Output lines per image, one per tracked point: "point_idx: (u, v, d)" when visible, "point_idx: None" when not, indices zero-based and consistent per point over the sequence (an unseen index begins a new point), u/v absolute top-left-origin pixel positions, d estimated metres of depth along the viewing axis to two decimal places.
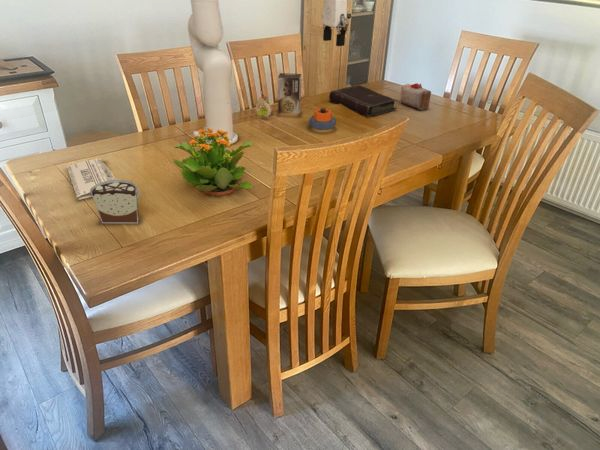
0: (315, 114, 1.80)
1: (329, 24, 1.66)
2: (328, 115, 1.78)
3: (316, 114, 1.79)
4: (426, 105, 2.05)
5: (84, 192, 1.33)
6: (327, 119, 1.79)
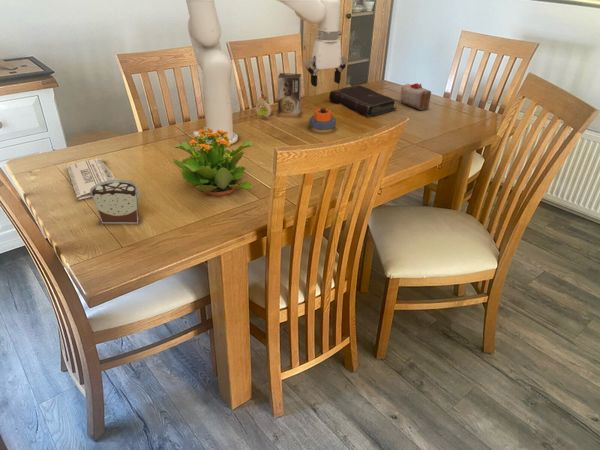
0: (315, 114, 1.80)
1: None
2: (328, 115, 1.78)
3: (316, 114, 1.79)
4: (426, 105, 2.05)
5: (84, 192, 1.33)
6: (327, 119, 1.79)
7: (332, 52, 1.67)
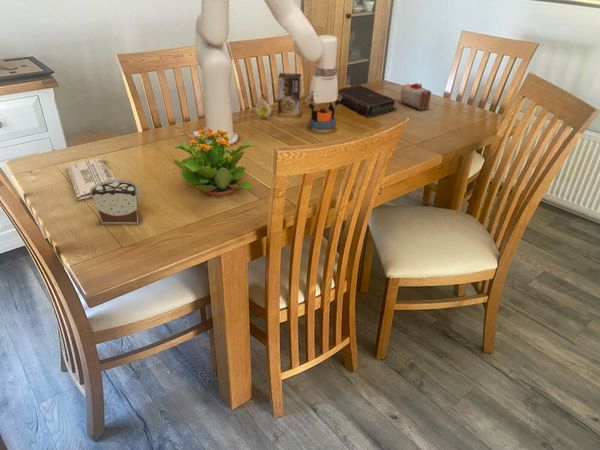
0: None
1: None
2: (328, 115, 1.78)
3: None
4: (426, 105, 2.05)
5: (84, 192, 1.33)
6: (327, 119, 1.79)
7: (329, 87, 1.73)
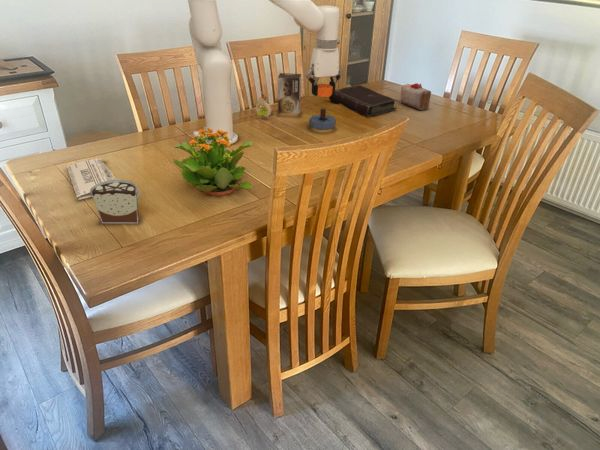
0: None
1: None
2: (329, 90, 1.73)
3: None
4: (426, 105, 2.05)
5: (84, 192, 1.33)
6: (328, 94, 1.74)
7: (330, 60, 1.68)
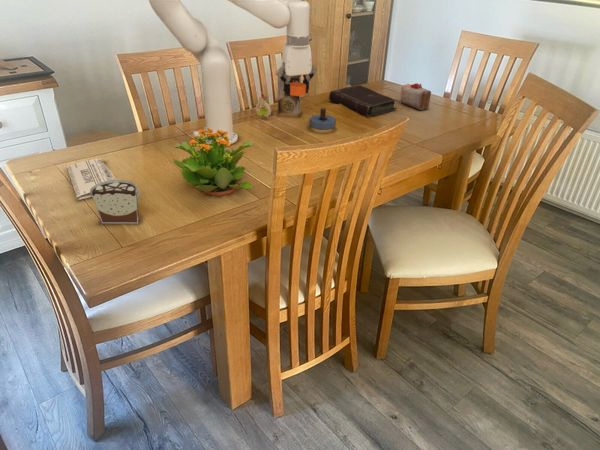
0: None
1: None
2: (302, 89, 1.66)
3: None
4: (426, 105, 2.05)
5: (84, 192, 1.33)
6: (301, 93, 1.66)
7: (302, 57, 1.61)
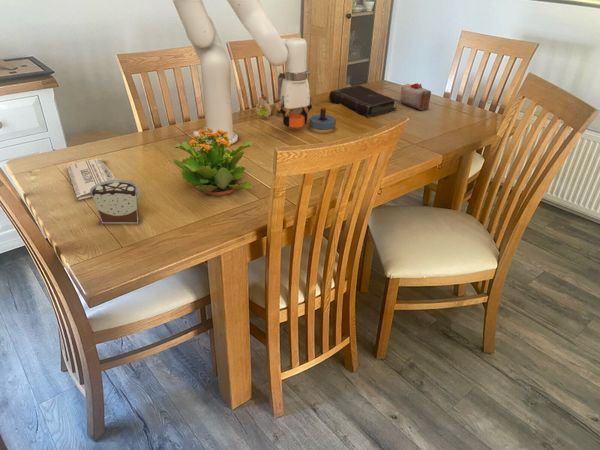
0: None
1: None
2: (300, 120, 1.72)
3: None
4: (426, 105, 2.05)
5: (84, 192, 1.33)
6: (299, 124, 1.72)
7: (300, 91, 1.67)
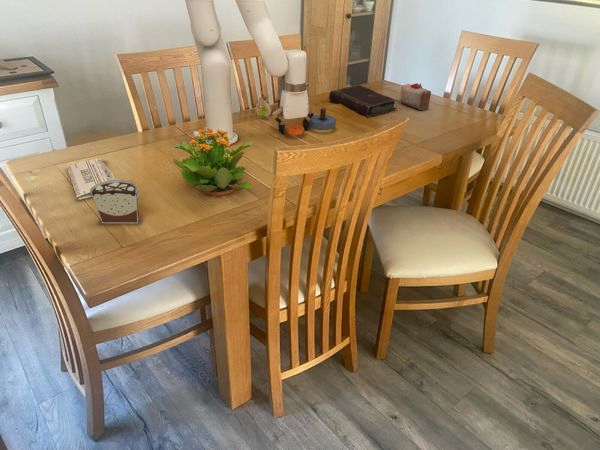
0: (286, 131, 1.75)
1: None
2: (300, 131, 1.74)
3: (288, 130, 1.74)
4: (426, 105, 2.05)
5: (84, 192, 1.33)
6: None
7: (299, 102, 1.69)
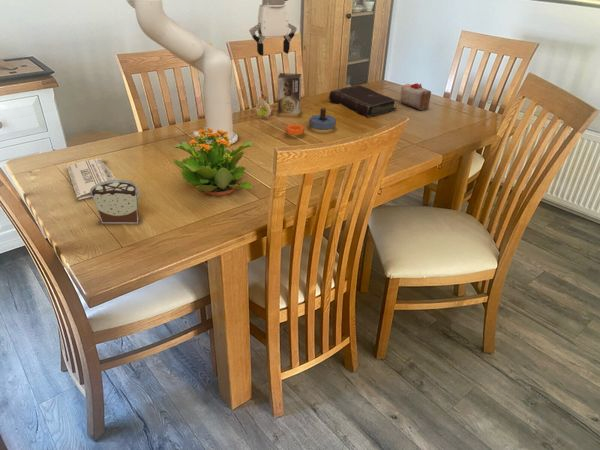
0: (286, 131, 1.75)
1: None
2: (300, 131, 1.74)
3: (288, 130, 1.74)
4: (426, 105, 2.05)
5: (84, 192, 1.33)
6: None
7: (278, 18, 1.58)
